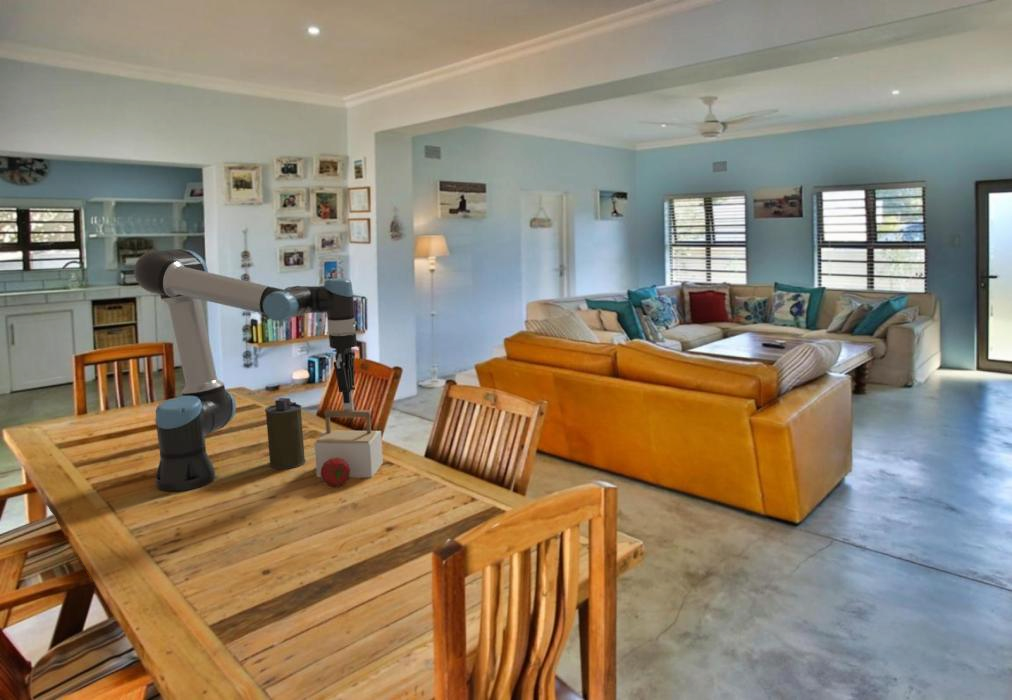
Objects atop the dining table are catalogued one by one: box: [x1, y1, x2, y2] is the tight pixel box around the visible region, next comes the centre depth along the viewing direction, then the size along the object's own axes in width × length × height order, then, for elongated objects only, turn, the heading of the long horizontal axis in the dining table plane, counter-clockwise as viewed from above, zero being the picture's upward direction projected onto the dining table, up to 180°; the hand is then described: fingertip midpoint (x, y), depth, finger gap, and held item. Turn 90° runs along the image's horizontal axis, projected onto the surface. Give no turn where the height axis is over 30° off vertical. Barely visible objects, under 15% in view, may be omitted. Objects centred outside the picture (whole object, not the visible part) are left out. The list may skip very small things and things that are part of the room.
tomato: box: [321, 458, 350, 488], centre depth 183 cm, size 8×8×8 cm
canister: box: [264, 397, 306, 470], centre depth 200 cm, size 11×10×20 cm
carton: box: [314, 430, 384, 478], centre depth 195 cm, size 16×12×10 cm
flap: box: [315, 409, 377, 443], centre depth 191 cm, size 15×8×7 cm, turn 85°
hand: (348, 412), depth 194 cm, fingers closed
